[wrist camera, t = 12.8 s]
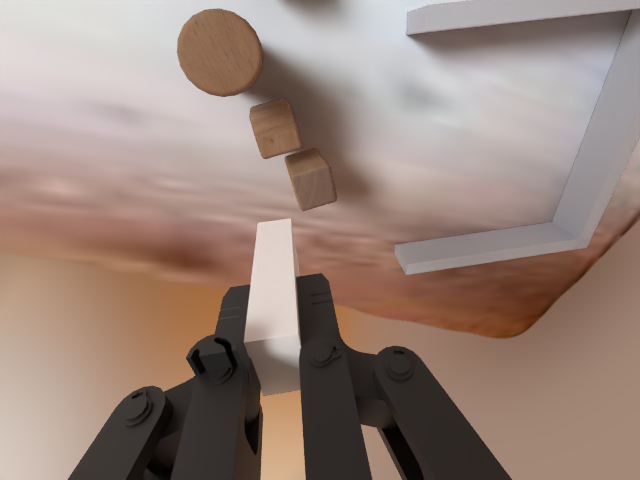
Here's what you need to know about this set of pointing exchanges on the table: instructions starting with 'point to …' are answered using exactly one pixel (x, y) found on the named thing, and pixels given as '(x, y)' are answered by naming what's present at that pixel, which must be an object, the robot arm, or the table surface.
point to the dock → (592, 159)
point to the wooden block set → (237, 76)
